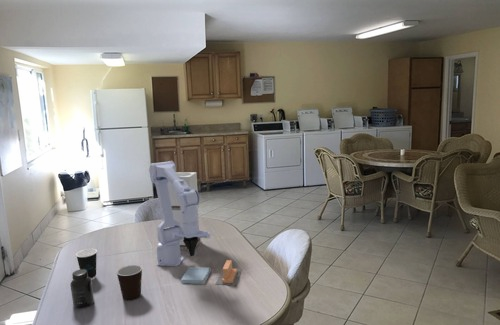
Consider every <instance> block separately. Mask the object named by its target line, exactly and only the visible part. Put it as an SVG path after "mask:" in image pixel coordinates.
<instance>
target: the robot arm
mask: <svg viewBox="0 0 500 325" xmlns="http://www.w3.org/2000/svg"><path fill="white" fill-rule="evenodd" d="M176 169H177V168H176V164H175V162H174V161H173V160H168V161H162V162H152V163H150V165H149V170H148V171H149V178H150V181H151V184H154V185H155V189H156V194H157V198H158V200H157V201H158V205H159V209H160V215H161V223H160V224H158V226H157V229H156V230H157V234H156V236H157V239H158V242H159V243H158V244H157V246H156V255H157V256H156V258H157V263H156V264H157V266H165V267H166V266H170V267H171V266H173V267H178V266H180V264H181V263H182V261H183V260H184V259H185V258H184V257H183V256H181V249H180V242H181V240H182V238H183V237H184V240H183V242H184V243H185V245H186V247H187V248H188V249H187V250H188V253H189V256H190V257H194V256H195V255H196V248H197V246H198V245H197V242H198V240H199V238H200V239H210V237H211V232H210V231H204V230H199V231H198V218H199V215H198V216H197V205H196V204H198V205H199V203H200V194H199V191H198V192H197V190H195V189H194V190H193V189H191V188H190V187H189V186H188V185H187V183H186V182H185V181H184V180H182V179H179V177H178V175H177V174H176V171H177V170H176ZM168 181H169V182H170V183H171V184H172V189H173V191H174V192H175V193H176V195H177V196H178V197H179V198H178V200H179V204H180V209H181V211H182V218H183V230H182V228H181V225H180V223H179V222H178V221H176V220H174V217H173V212H172V207H171V201H170V196H169V191H168V186H167V183H168ZM171 226H175V227H171ZM169 227H171V228H169ZM196 245H197V246H196Z"/></svg>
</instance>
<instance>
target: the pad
mask: <svg viewBox="0 0 500 325" xmlns="http://www.w3.org/2000/svg"><path fill="white" fill-rule="evenodd" d="M241 273H242V270H237V273H236V276H235V278H234V281H233V283H222V279H223V269H222V270H221V271H220V273H219V276H218V277H217V279H216V282H215V285H216V286H217V285H218V286H237V284H238V281H239V278H240V276H241Z"/></svg>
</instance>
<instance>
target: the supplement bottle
mask: <svg viewBox="0 0 500 325" xmlns="http://www.w3.org/2000/svg"><path fill="white" fill-rule="evenodd" d="M71 276H72V280H71V281H70V291H71V299H72V300H71V301H72V305H73V308H76V309H77V310H80V309H85V308H88V307H90V306H92V305H93V304H94V302H95V298H94V290H93V289H94V288H93V280H91V278H90V277H88V274H87V270H85V269H81V270H80V269H77V270H74V271H73V272H72V275H71Z"/></svg>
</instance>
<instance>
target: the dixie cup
mask: <svg viewBox="0 0 500 325" xmlns="http://www.w3.org/2000/svg"><path fill="white" fill-rule="evenodd" d="M97 253H98V250H97V249H96V248H86V249H82V250H80V251H77V252H76V253H75V257H76V259H77V263H78V266H79V270H81V269H85V270H87V274H88V277H90V278H91V280H92V281H93V280H95V279H96V277H97Z"/></svg>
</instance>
